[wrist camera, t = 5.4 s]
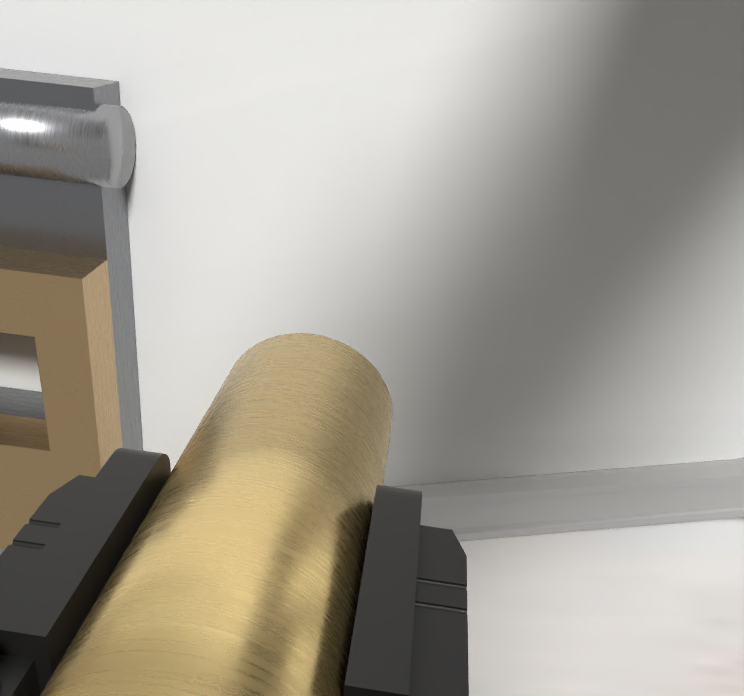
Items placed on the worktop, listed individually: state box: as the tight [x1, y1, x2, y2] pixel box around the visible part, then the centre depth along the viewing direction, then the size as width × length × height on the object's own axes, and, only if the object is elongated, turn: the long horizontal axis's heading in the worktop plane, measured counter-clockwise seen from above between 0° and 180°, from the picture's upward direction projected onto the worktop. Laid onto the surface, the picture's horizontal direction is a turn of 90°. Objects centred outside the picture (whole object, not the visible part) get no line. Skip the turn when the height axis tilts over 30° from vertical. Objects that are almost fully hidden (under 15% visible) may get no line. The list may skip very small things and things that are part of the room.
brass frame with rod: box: [0, 68, 143, 555], centre depth 28 cm, size 22×10×4 cm, turn 175°
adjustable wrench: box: [395, 458, 744, 541], centre depth 30 cm, size 25×6×2 cm, turn 96°
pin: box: [40, 333, 393, 696], centre depth 9 cm, size 3×3×11 cm
